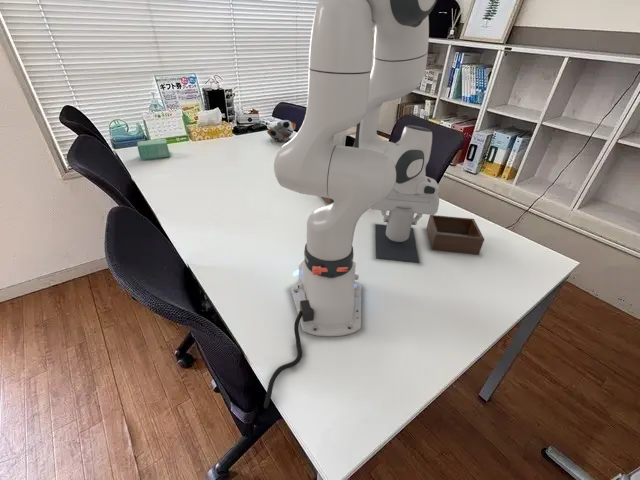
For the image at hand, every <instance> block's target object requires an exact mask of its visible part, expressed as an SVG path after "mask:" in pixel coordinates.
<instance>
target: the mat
mask: <svg viewBox="0 0 640 480" xmlns="http://www.w3.org/2000/svg"><path fill="white" fill-rule="evenodd" d="M374 228H375V259H376V260H386V261H387V260H388V261H395V262H407V263H416V264H420V256H419V253H418V247H417V243H416V238H415V233H414V228H413V227H411V230H410V234H409V238H408V239H407V240H405V241H403V242H395V241H392V240H390V239H389V238H388V237H387V236H386V228H387V224H377V223H375V225H374Z"/></svg>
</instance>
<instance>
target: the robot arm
mask: <svg viewBox="0 0 640 480" xmlns="http://www.w3.org/2000/svg"><path fill="white" fill-rule="evenodd" d="M437 1H438V0H319V1H318V3H317V4H316V7H315V10H314V15H313V20H312V26H311V32H310V42H309V54H308V87H307V101H306V111H305V115H304V119H303V122H302V124H301V126H300V127H299V130H298V131H297V133H296V134H295V135H294V136H293V138H291V139H290V140H289V141H288V142H287V141H286V143H284V144H283V145H282V146H281V147H280V148H279V150H278V151H277V153H276V155H275V158H274V161H273V162H274V163H273V172H274V176H275V178H276V181H277V182H278V184H279V186H280V187H282V188H284V189H287V190H290V191H292V192H295V193H298V194H301V195H308V196H315V197H321V198H322V197H327V198H330V199H333V200H334V203H332V204H329V205H328V204H326V205H322V206H320V207H318V208H316V209H315V210H313V211H312V212H311V214H309V216H308V218H307V220H306V243H305V245H304V249H303V256H304V259H303V260H302V262H300V263H299V264H298V269H297V270H295V271H294V272H293V273H292V276H293V277H295V276H297V278H298V279H297V283H296V284H294V285H292V286H291V288H290V292H291V293H290V294H291V296H292V299H293V303H294V306H295V310H296V313H297V316H296V318H295V321H294V326H293V330H294V338H295V345H296V350H297V354H296V355H297V356H296V358H295V359H293V360H292V361H290V362H288V363H284V364H282V365H280V366H278V368H276V370H274V372H273V374H272V375H271V377H270V379H269V381H268V385H267V389H266V394H265V398H264V403H263V408H264V409H268V408H269V406H270V402H271V398H272V393H273V389H274V384H275V381H276V380H277V378H278V376H279V375H280V374H281V372H283V371H285V370H287V369H291V368H293V367H295V366H296V365H298V364H299V363H300V361H301V359H302V357H303V350H302V345H301V337H300V331H299V326H300V327H301V330H302V331H303V332H304V333H307V334H309V335H311V336H312V335H313V336H316V337H317V336H318V337H341V336H346V335H351V334H354V333H356V332H358V331H360V330H361V328H362V290H363V289H362V288H363V287H362V285H361V284H359V283H358V282H356V281H359V277H360V275H359V274H356V268H357V263H356V262H355V261H354V255H355V254H354V246H353V242H354V236H355V231H356V226H357V224H358V222H359V220H360V218H361V217H362V216H363V214H364V213H366V211H368V210H369V209H372V210H377V211H381V215H382V216H383V223H387V222H388V220H389V214H387V212H389V211H392V210H394V209H396V208H395V207H397V208H400V209H411V208H412V209H411V211H412V212H413V213H414V214H416V215H415V216H414V217H413V221H412V226H417V224H418V221H419V220H420V219H421V218H422V217H423V215H429V216H430V215H436V214H437V213H438V210H439V206H440V197H439V192H440V186H439V184H438V182H437V181H436V179H434V178H432V177H429V176H427V175H426V174H427V173H426V168H427V166H428V163H429V161H430V157H431V153H432V152H431V151H432V146H433V131H432V130H431V129H429V128H427V127H423V126H420V125H414V124H407V125H405V126H404V128H403V130H402V132H401V136H400V139H399V140H398V141H396V142H393V141H389V140H386V139H383V138H381V137H380V136H379V135H378V133H377V131H378V124H379V118H380V113H381V107H382V105H383V103H387V102H391V101H394V100H398V99H401V98H403V97H406V96H408V95H409V94H411V93H412V92H414V91H415V90H416V89H417V88H418V87H419V86H420V84H421V83H422V81H423V79H424V77H425V74H426V70H427V64H428V52H429V42H430V41H429V38H430V36H429V35H430V20H429V18H430V17H429V15H430V14H431V12H432V11H433V9H434V7H435V6H436V4H437ZM373 30H374V31H373ZM373 32H374V33H373ZM373 35H374V36H373ZM355 126H356V130H355V138H354V142H353V145H352V146H346V145H338V144H336V143H334V137H335V136H336V135H337V134H339V133H342V132H344V131H347V130H349V129H351V128H353V127H355ZM299 324H300V325H299Z"/></svg>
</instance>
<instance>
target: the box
mask: <svg viewBox="0 0 640 480" xmlns="http://www.w3.org/2000/svg"><path fill="white" fill-rule="evenodd" d="M136 143H137V152H138V155H139V158H140V159H141V160H142V161H145V160H147V161H148V160H154V159H161V158H169V157H170V158H171V154H170V150H169V146H168V142H167V138H158V139H148V140H139V141H137V142H136Z"/></svg>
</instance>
